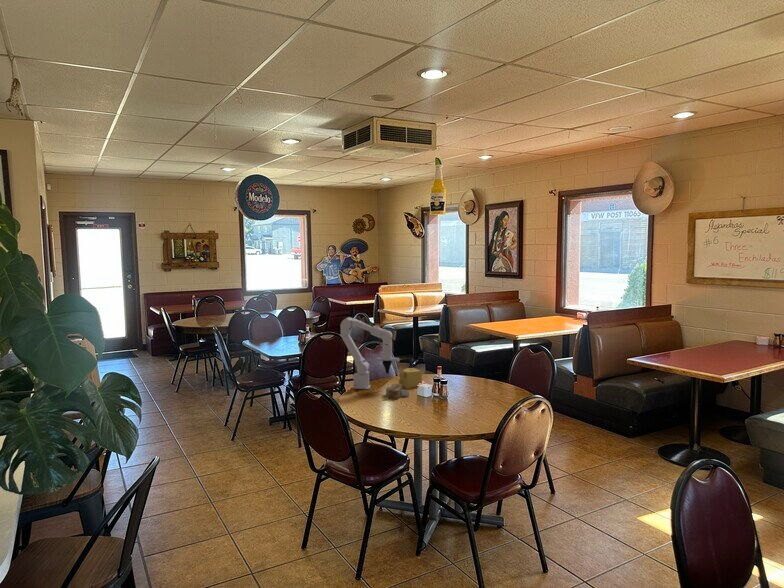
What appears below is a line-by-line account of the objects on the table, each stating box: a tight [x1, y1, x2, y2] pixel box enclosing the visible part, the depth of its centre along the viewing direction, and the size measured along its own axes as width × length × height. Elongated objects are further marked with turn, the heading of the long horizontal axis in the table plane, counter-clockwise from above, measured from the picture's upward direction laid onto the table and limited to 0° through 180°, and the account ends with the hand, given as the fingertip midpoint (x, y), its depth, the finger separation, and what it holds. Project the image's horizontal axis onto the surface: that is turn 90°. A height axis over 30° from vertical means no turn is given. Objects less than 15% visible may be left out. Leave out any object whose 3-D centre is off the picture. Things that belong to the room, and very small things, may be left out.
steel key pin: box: [385, 386, 410, 398], centre depth 313 cm, size 13×6×4 cm, turn 81°
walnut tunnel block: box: [387, 383, 403, 400], centre depth 313 cm, size 6×14×5 cm, turn 171°
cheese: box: [398, 367, 423, 389], centre depth 335 cm, size 10×11×10 cm
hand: (387, 373), depth 328 cm, fingers closed
